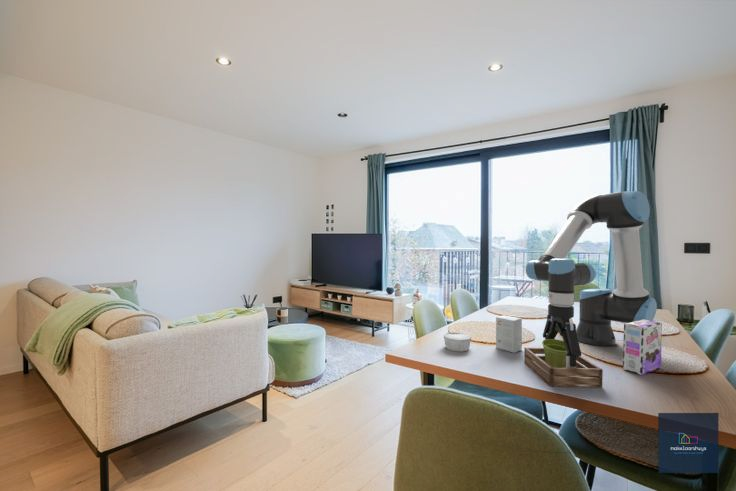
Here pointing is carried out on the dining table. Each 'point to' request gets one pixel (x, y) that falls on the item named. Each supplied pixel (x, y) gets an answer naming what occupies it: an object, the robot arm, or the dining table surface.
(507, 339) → the small box
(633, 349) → the candy box
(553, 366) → the plant pot
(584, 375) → the crate
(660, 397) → the dining table surface
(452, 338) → the ramekin
